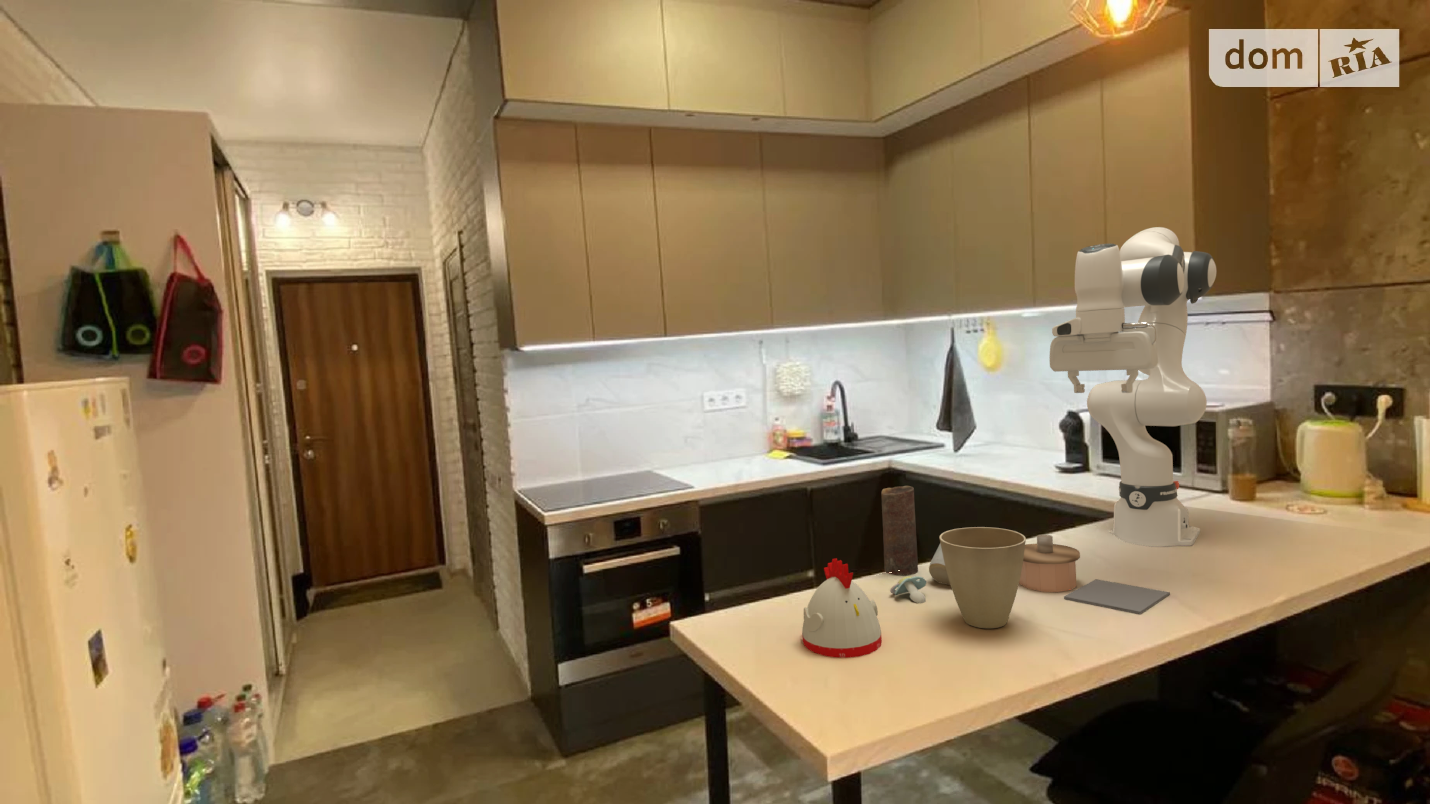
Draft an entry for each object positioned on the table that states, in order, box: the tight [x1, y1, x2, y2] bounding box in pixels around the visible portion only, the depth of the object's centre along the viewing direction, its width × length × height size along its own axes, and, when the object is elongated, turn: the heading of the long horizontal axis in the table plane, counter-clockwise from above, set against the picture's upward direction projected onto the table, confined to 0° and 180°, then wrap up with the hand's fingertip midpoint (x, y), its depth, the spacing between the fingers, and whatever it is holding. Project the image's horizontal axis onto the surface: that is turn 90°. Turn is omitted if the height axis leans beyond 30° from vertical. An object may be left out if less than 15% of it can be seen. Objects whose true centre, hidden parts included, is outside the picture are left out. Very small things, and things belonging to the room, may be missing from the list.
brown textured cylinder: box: [881, 485, 919, 577], centre depth 172 cm, size 8×7×20 cm
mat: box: [1063, 578, 1171, 615], centre depth 150 cm, size 14×14×1 cm
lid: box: [1023, 534, 1081, 564], centre depth 160 cm, size 13×13×5 cm
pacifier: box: [889, 575, 927, 604], centre depth 156 cm, size 7×6×6 cm
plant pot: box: [938, 526, 1027, 629], centre depth 141 cm, size 15×15×16 cm
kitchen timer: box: [801, 557, 883, 659], centre depth 137 cm, size 14×14×15 cm
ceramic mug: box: [928, 543, 951, 586], centre depth 163 cm, size 11×8×8 cm
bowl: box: [1019, 561, 1077, 593], centre depth 161 cm, size 11×11×6 cm
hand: (1102, 392), depth 157 cm, fingers open, 8 cm apart
